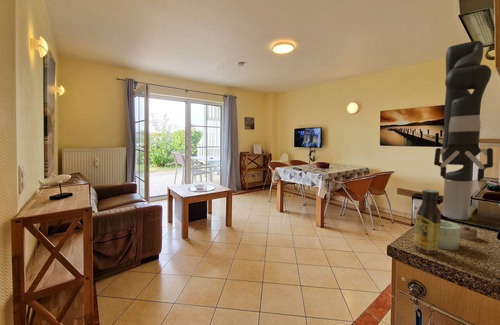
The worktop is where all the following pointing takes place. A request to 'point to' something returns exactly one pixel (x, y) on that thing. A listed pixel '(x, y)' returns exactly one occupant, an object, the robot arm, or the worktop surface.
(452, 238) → the jar
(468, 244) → the worktop surface
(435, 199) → the sauce bottle
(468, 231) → the lid
